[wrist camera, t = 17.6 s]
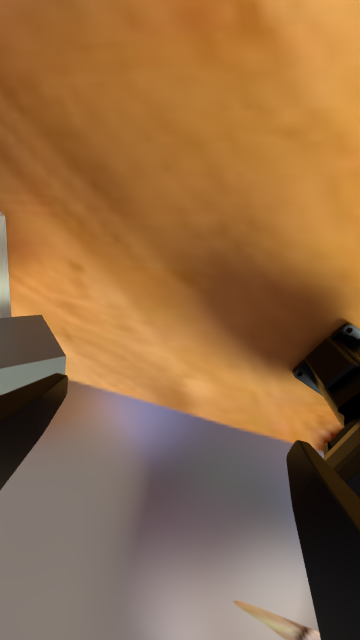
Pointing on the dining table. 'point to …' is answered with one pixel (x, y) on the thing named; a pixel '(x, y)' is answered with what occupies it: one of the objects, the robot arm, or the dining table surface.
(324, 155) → the dining table surface
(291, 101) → the dining table surface
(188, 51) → the dining table surface
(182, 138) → the dining table surface
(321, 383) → the robot arm
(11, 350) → the carton flap
